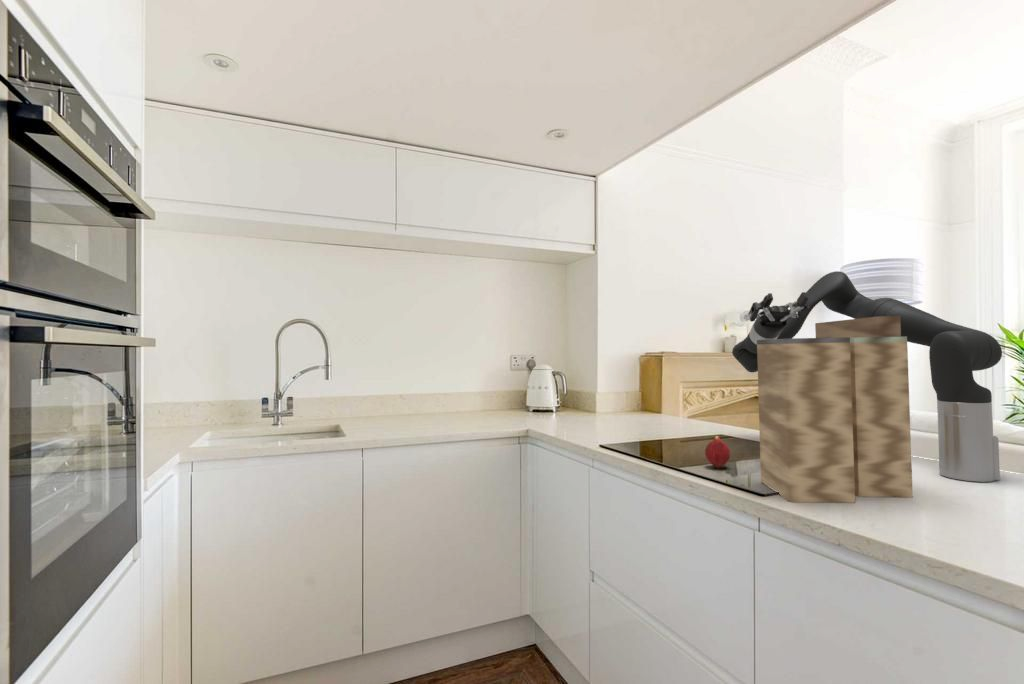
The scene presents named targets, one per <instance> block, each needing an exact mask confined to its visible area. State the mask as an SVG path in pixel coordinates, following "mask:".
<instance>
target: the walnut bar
mask: <svg viewBox="0 0 1024 684" xmlns="http://www.w3.org/2000/svg"><path fill="white" fill-rule="evenodd" d="M814 326H815V328H814V329H815V338H842V337H850V338H857V337H898V336H901V325H900V316H878V317H869V318H859V319H854V318H851V319H850V318H849V319H845V320H844V319H843V320H834V321H833V320H832V321H825V322H824V321H823V322H816V323H815V325H814Z"/></svg>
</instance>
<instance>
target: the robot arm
mask: <svg viewBox="0 0 1024 684" xmlns="http://www.w3.org/2000/svg"><path fill="white" fill-rule="evenodd" d="M773 301H774V297H773V293H770V292H769V293H767V294H766V295H765V296H764V298H763V299H762V300H761V301H760V302H756V301H755V302H753V303H752V304H751V306H750V307H751V308H750V309H749V310H748V311H749V312H748V316H749V321H750V322H753V324H752V326H751V327H750V330H749V332H748V334H747V336H746V337H745V338H744V339H742V340H741V341H739V342H738V343H736V344H735V345H734V346H733V347H732V351H731V353H732V355H733V357H734V359H736V360H737V362H738V363H739V364H741V366H742V367H743V368H744V369H745V370H746V371H747V372H749V373H758V360H757V340H770V339H793V338H795V336H796V335H798V333H799V332H800V330H801V329H802V327H803V326H804V324H805V321H806V320H807V319H808V316H809V315H810V313H811V312H812V310H813V309H814V308H815V307H816V306H817V305H819V303H822V304H823V305H824V306H825V308H827V309H828V310H830V311H832V312H834V313H837V314H840V315H843V316H846V317H849V318H851V319H859V318H869V317H878V316H900V325H901V336H898V337H906V336H907V343H912V344H917V345H921V346H925V347H926V346H927V347H928V348H929V353H928V354H929V356H928V357H929V369H930V376H931V378H930V379H931V384H932V385H931V386H932V387H933V388H932V389H933V390H934V392H935V394H936V405H937V406H936V410H937V433H938V437H937V439H938V462H939V464H938V466H939V475H940V476H943V477H946V478H950V479H953V480H954V479H955V480H960V481H967V482H978V483H979V482H981V483H987V482H994V481H1000V480H1001V475H1000V473H1001V471H1000V468H1001V467H1000V447H999V437H998V436H997V435H994V424H993V420H994V419H993V418H994V417H993V402H992V401H993V399H992V392H991V390H990V389H989V388H987V387H985V386H982V385H980V384H979V383H977V382H976V381H975V379H974V374H973V373H974V371H975V372H976V371H977V372H978V371H979V372H980V371H983V370H987V369H988V370H989V369H990V368H993V367H994V366H996V365H997V364H998V363H999V362H1000V361H1001V359H1002V357H1003V350H1002V347H1001V345H1000V343H999V342H998V340H997V339H996V338H995V337H993V336H992V335H991V334H989V333H988V332H985V331H982V330H978V329H975V328H971V327H967V326H963V325H960V324H957V323H954V322H950V321H948V320H945V319H943V318H940V317H938V316H936V315H933V314H932V313H929V312H926V311H924V310H922V309H919V308H917V307H915V306H913V305H910V304H908V303H905V302H903V301H900V300H898V299H896V298H891V297H880V298H876V299H871V298H870V297H867V296H865V295H863V294H861V293H860V292H859V291H858V290H857V289H856V287H855V285H854V284H853V282H852V281H851V279H850V278H849V276H848V275H847V274H846V273H845V272H843V271H837V270H836V271H832V272H829V273H826V274H824V275H823V276H822V277H820V278H818V280H817V281H816V282H814V284H813V285H811V287H809V289H808V290H807V291H806V292H805V291H804V292H801V293H800V295H799V296H798V297H797V299H796V300H795V301H794V302H788V303H786V304H784V305H772V306H771V304H772V303H773ZM760 310H761V311H760Z"/></svg>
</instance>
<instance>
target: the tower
mask: <svg viewBox="0 0 1024 684" xmlns="http://www.w3.org/2000/svg"><path fill="white" fill-rule="evenodd" d="M908 353H909V352H908V342H907V336H906V337H857V338H850V359H851V389H852V420H853V450H854V481H855V496H857V497H860V498H861V497H863V498H865V497H867V498H875V497H876V498H877V497H878V498H913V494H914V493H913V472H912V471H913V467H912V444H911V443H912V441H911V435H912V434H911V415H910V414H911V412H910V409H911V408H910V407H911V406H910V384H909V383H910V382H909V359H908V358H909V356H908V355H909V354H908ZM894 496H895V497H894Z"/></svg>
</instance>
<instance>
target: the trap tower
mask: <svg viewBox="0 0 1024 684" xmlns="http://www.w3.org/2000/svg"><path fill="white" fill-rule="evenodd" d="M757 360H758V371H757V388H758V391H757V393H758V419H759V420H758V421H759V422H758V423H759V424H758V427H759V429H758V430H759V454H760V456H759V459H760V462H759V463H760V483H761V482H762V483H764V484H766V485H767V486H769V487H771V488H773V489H774V490H776V491H778V492H779V494H780V495H781V496H780V495H779V494H778V495H779V496H780V497H782V498H784V499H785V500H787V501H788V502H790V503H854V504H856V495H855V481H854V450H853V420H852V389H851V359H850V337H842V338H816V337H809V338H808V337H801V338H800V337H799V338H795V337H793V338H792V339H770V340H757ZM762 483H761V484H762ZM764 484H763V485H764ZM767 486H766V487H767Z"/></svg>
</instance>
